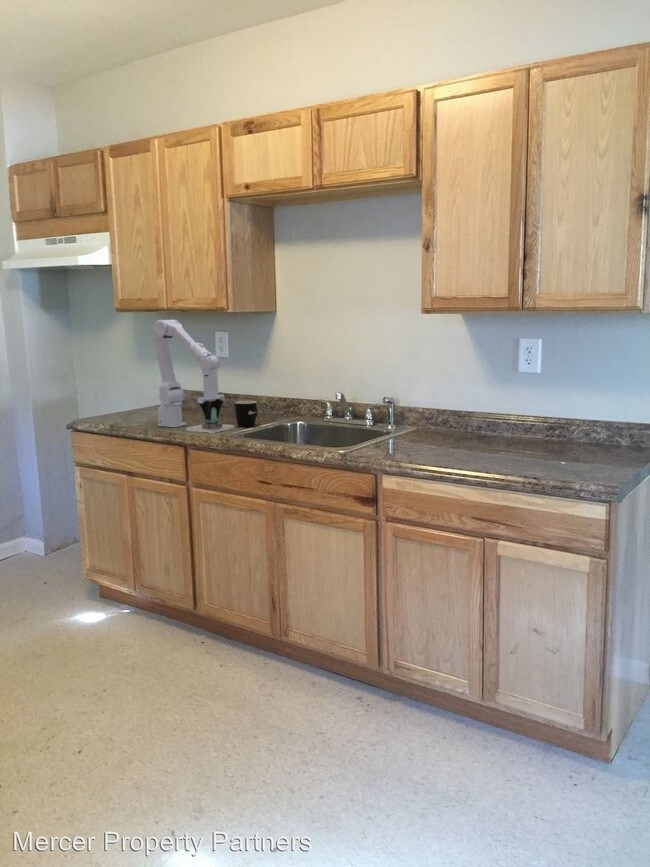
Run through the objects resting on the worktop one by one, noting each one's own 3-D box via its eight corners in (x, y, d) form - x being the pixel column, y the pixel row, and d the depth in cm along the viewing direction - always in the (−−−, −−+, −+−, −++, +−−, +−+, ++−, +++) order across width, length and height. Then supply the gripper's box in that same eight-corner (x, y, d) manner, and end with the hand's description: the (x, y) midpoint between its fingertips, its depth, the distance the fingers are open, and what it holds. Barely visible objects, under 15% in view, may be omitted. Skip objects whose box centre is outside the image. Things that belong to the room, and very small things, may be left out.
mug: (248, 428, 295) (247, 404, 293) (231, 426, 300) (230, 402, 298) (265, 424, 305) (265, 400, 303) (248, 422, 310) (247, 399, 308)
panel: (186, 430, 291) (185, 424, 291) (208, 425, 303) (208, 419, 303) (213, 433, 284) (213, 426, 284) (234, 428, 296) (234, 421, 296)
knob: (211, 424, 291) (211, 409, 290) (203, 423, 294) (203, 408, 293) (219, 423, 295) (218, 407, 294) (211, 422, 297) (210, 407, 296)
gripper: (207, 387, 283) (208, 422, 286) (229, 384, 296) (230, 417, 298) (193, 387, 287) (194, 420, 289) (216, 383, 299) (217, 415, 301)
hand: (211, 418), depth 294 cm, fingers closed on knob, 4 cm apart
